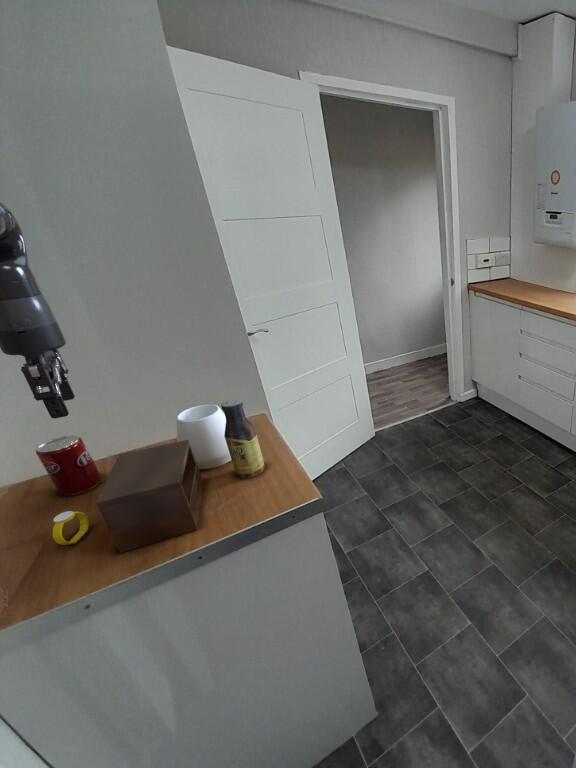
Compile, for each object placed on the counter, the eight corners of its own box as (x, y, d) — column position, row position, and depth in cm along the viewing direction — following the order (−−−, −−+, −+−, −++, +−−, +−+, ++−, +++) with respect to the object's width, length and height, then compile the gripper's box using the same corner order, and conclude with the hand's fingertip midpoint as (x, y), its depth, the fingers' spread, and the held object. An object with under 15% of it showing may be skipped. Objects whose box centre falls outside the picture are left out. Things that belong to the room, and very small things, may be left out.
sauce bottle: (231, 476, 100) (205, 405, 91) (254, 462, 105) (232, 393, 97) (250, 483, 98) (226, 410, 89) (272, 468, 103) (252, 398, 95)
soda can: (61, 501, 91) (34, 457, 85) (59, 486, 95) (33, 443, 90) (104, 486, 95) (82, 443, 90) (101, 472, 100) (79, 431, 95)
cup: (174, 462, 105) (155, 415, 99) (231, 439, 115) (216, 395, 109) (196, 482, 98) (177, 432, 92) (255, 455, 108) (240, 409, 102)
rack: (120, 553, 78) (95, 503, 73) (138, 499, 92) (118, 454, 87) (197, 530, 83) (179, 482, 79) (203, 482, 97) (188, 439, 93)
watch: (82, 527, 83) (69, 505, 81) (97, 526, 84) (84, 504, 81) (56, 551, 78) (41, 527, 75) (72, 549, 78) (58, 526, 76)
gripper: (1, 317, 72) (42, 399, 78) (-23, 336, 62) (26, 429, 68) (61, 311, 76) (95, 390, 83) (48, 328, 66) (88, 416, 73)
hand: (64, 407), depth 75 cm, fingers open, 8 cm apart
